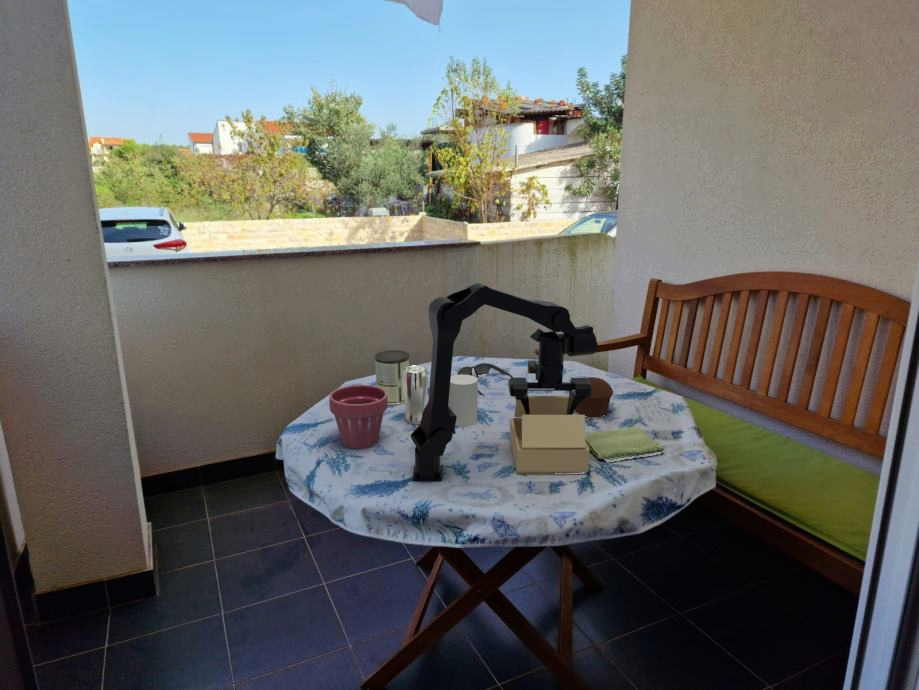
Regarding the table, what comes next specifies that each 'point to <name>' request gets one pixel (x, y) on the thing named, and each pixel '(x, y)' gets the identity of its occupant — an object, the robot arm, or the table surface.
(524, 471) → the carton
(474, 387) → the off-white closed cylinder
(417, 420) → the silver metal cylinder
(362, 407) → the plant pot
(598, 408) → the muffin
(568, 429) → the near flap
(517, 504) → the table surface
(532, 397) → the far flap
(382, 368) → the coffee can
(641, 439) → the washcloth
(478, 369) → the sunglasses
